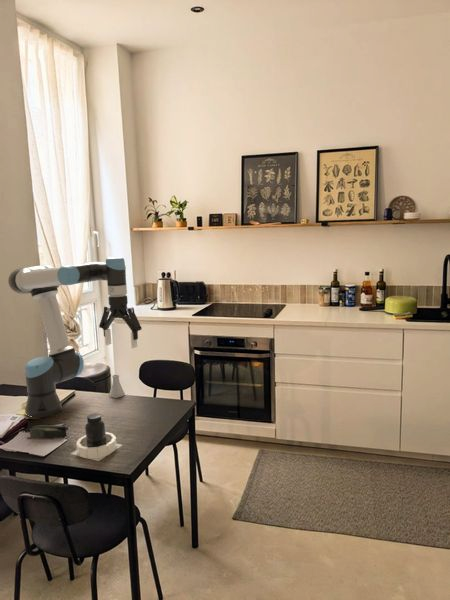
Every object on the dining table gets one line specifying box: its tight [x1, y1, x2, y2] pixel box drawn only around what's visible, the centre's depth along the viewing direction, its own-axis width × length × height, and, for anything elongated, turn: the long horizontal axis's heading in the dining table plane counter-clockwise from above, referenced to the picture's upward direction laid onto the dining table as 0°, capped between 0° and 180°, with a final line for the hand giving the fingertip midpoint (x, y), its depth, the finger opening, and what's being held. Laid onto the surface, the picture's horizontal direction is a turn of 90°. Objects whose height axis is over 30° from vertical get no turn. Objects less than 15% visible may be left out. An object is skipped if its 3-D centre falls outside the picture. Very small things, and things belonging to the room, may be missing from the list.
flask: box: [108, 374, 126, 399], centre depth 224 cm, size 7×7×10 cm
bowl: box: [75, 431, 117, 460], centre depth 170 cm, size 13×13×4 cm
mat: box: [70, 442, 123, 462], centre depth 170 cm, size 13×13×1 cm
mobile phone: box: [25, 424, 67, 440], centre depth 182 cm, size 5×3×15 cm
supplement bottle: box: [84, 412, 107, 448], centre depth 169 cm, size 7×7×12 cm
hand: (121, 346), depth 195 cm, fingers open, 13 cm apart
